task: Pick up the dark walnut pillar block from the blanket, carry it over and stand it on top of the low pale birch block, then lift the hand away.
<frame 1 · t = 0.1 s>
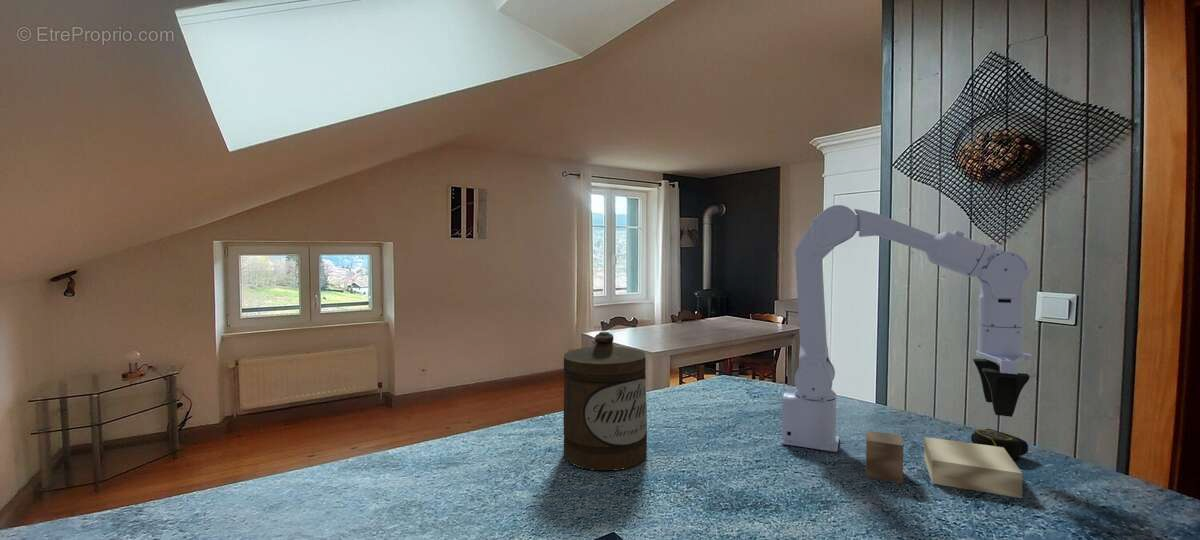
hand: (998, 408, 84), 10 cm above the countertop, fingers open, 7 cm apart
birch block: (968, 478, 82), on the countertop
tape measure: (996, 455, 91), on the countertop
wooden container: (605, 455, 92), on the countertop
walnut block: (883, 474, 83), on the countertop
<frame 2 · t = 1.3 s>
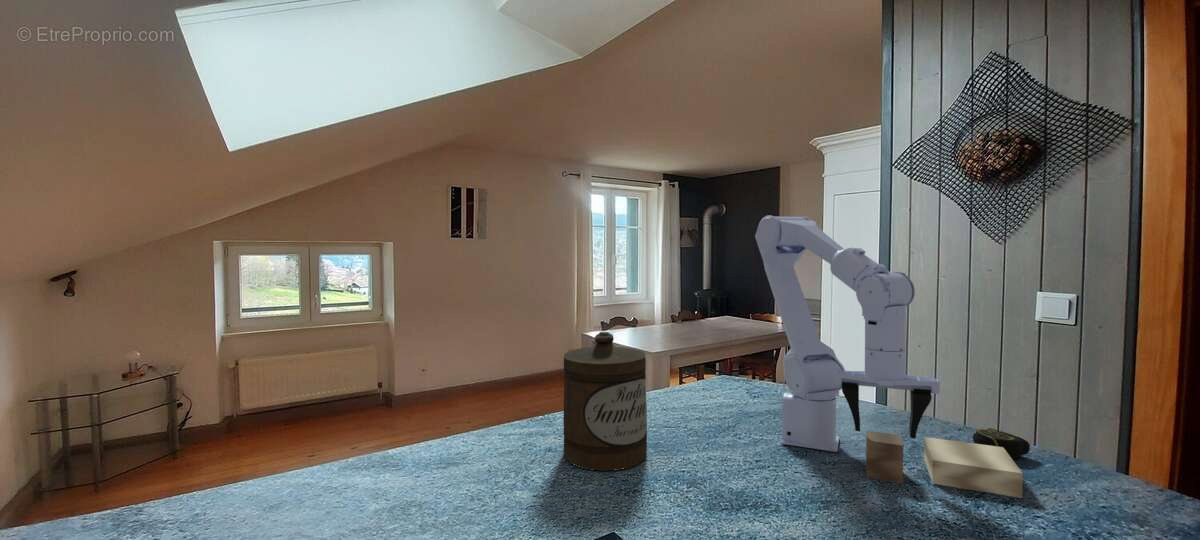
hand: (884, 432, 82), 7 cm above the countertop, fingers open, 7 cm apart
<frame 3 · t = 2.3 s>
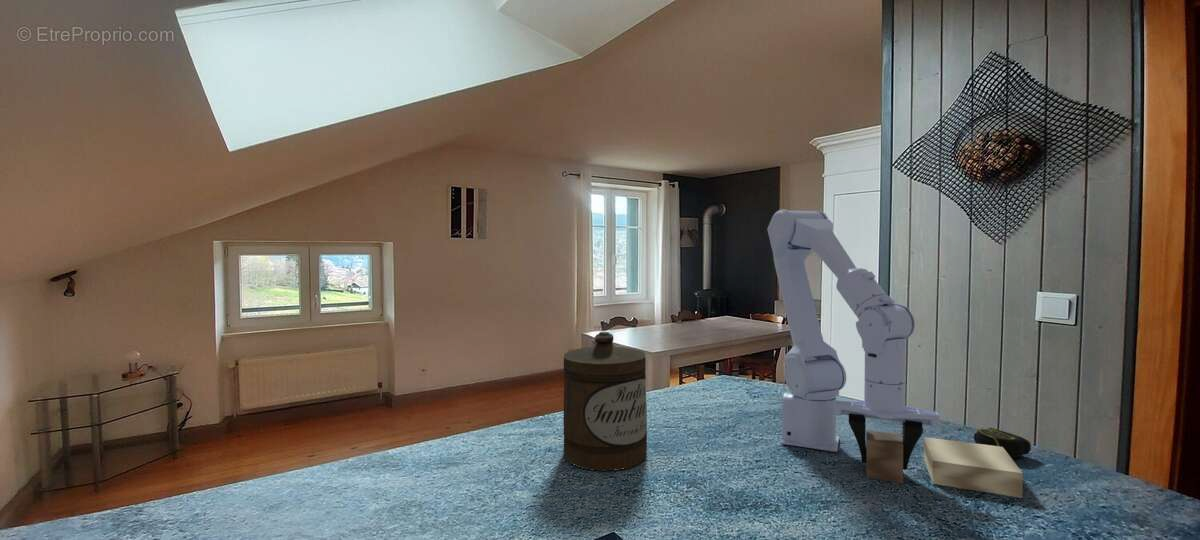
hand: (883, 464, 83), 2 cm above the countertop, fingers closed on walnut block, 5 cm apart
walnut block: (883, 474, 83), on the countertop, touching gripper
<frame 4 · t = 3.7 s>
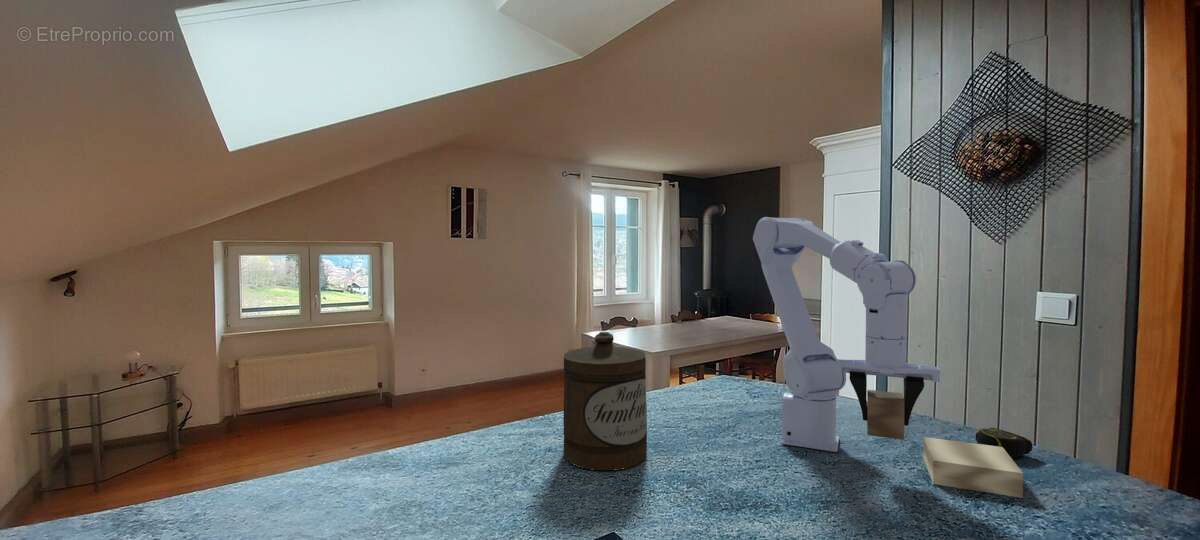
hand: (884, 421, 82), 9 cm above the countertop, fingers closed on walnut block, 5 cm apart
walnut block: (884, 432, 82), point 7 cm above the countertop, touching gripper
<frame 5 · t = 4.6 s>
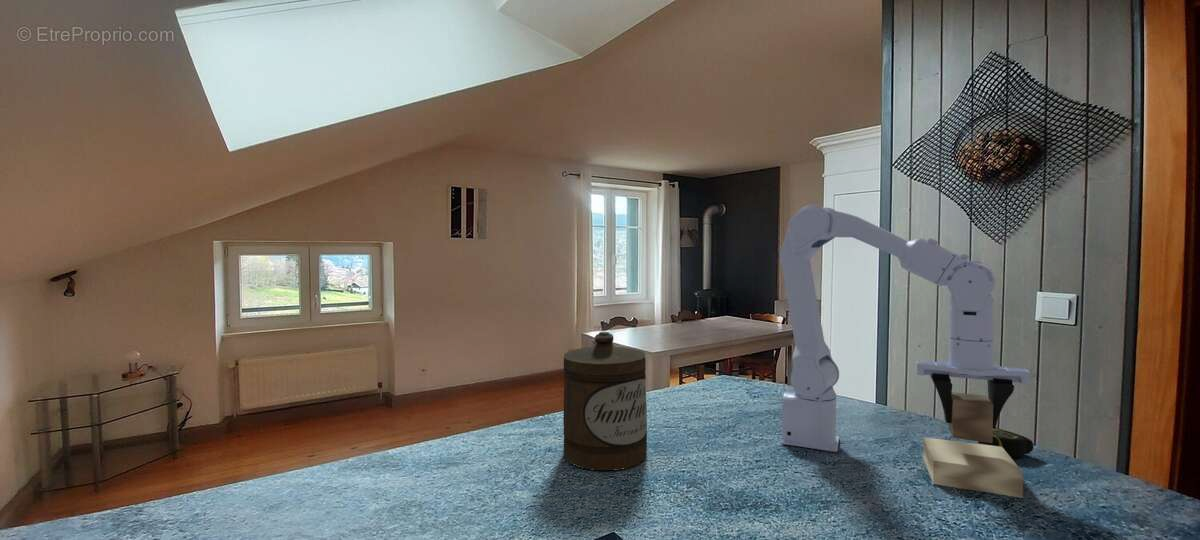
hand: (969, 423, 81), 8 cm above the countertop, fingers closed on walnut block, 5 cm apart
walnut block: (969, 435, 81), point 7 cm above the countertop, touching gripper
when the fingers open (7 cm above the countertop, at t = 5.3 s): walnut block drops 1 cm, resting on birch block.
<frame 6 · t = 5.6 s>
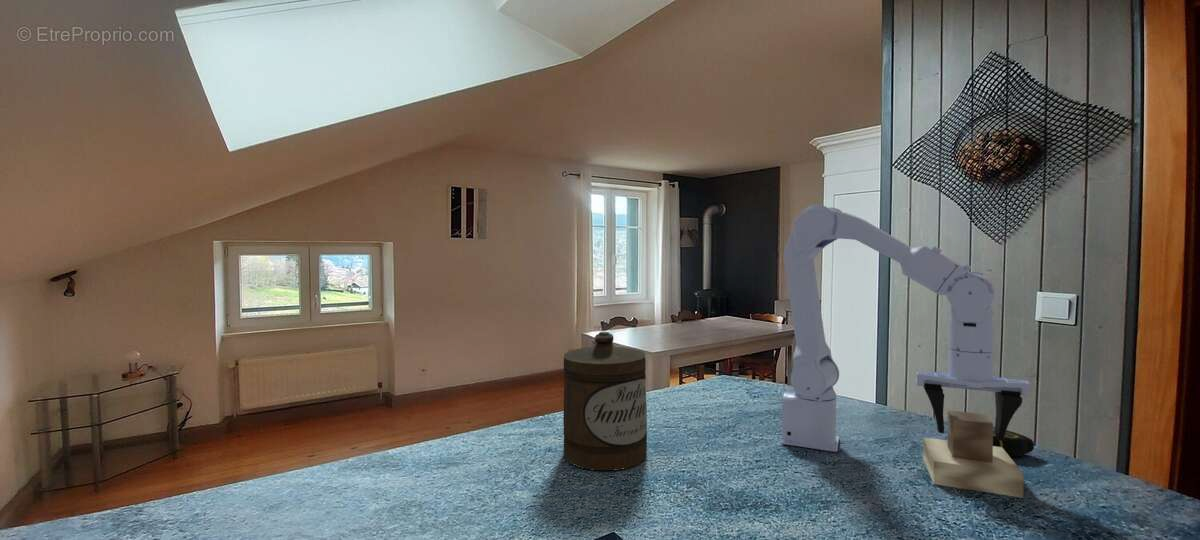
hand: (969, 434, 82), 7 cm above the countertop, fingers open, 7 cm apart
birch block: (968, 478, 82), on the countertop, touching walnut block
walnut block: (969, 454, 82), point 4 cm above the countertop, touching birch block
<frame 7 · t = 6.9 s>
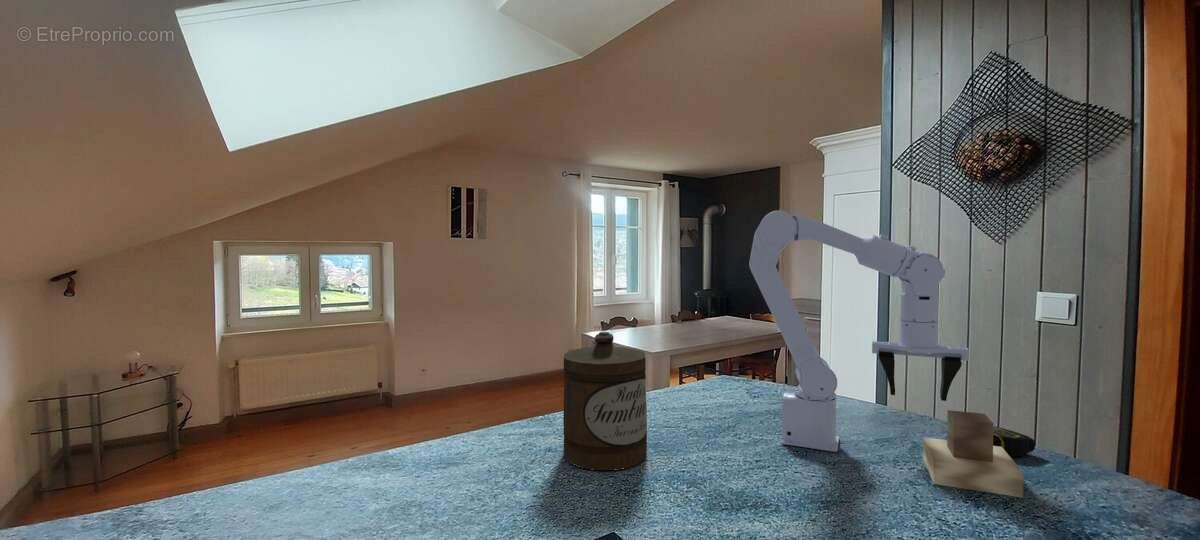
hand: (917, 396, 92), 10 cm above the countertop, fingers open, 7 cm apart
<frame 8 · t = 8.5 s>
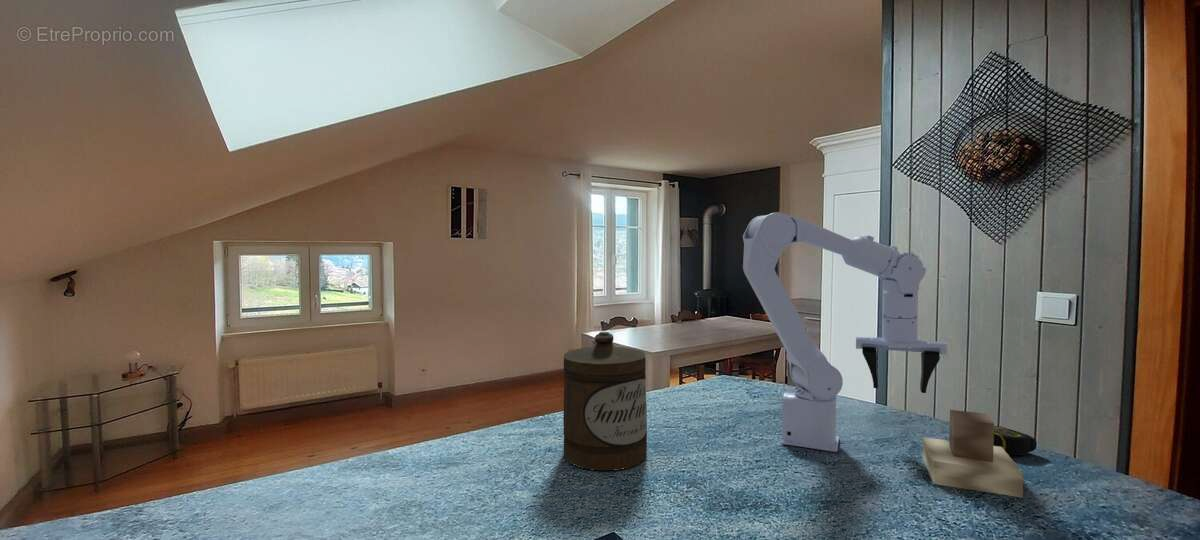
hand: (898, 389, 96), 10 cm above the countertop, fingers open, 7 cm apart
birch block: (968, 478, 82), on the countertop
walnut block: (970, 453, 82), point 4 cm above the countertop
at the end: walnut block inside the target area on the birch block (0.2 cm from its centre), point 4.0 cm above the birch block's base; walnut block tilted 0°; the gripper is holding nothing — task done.
